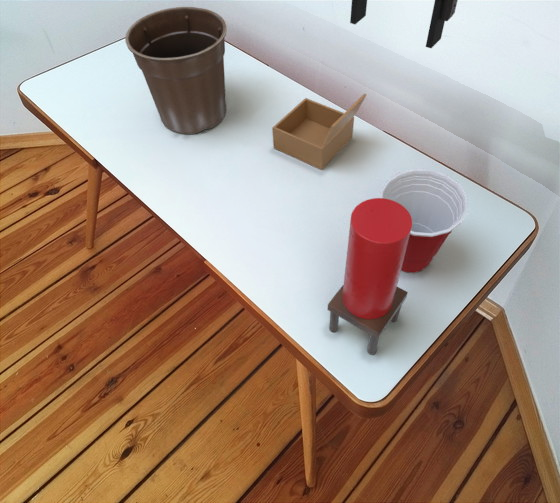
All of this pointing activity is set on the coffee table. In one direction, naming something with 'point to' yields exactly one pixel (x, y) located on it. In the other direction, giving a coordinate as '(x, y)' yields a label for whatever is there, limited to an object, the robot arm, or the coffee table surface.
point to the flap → (344, 119)
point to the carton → (311, 133)
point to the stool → (367, 325)
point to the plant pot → (183, 65)
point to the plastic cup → (426, 211)
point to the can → (375, 256)
